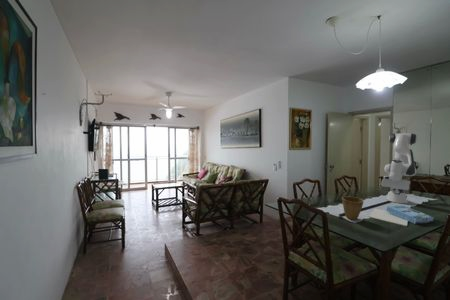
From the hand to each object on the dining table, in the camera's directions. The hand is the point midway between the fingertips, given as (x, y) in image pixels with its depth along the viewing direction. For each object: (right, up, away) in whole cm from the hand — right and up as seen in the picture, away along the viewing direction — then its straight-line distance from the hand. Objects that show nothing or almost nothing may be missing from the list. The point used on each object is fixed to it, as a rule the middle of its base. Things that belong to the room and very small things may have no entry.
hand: (394, 192), depth 194 cm
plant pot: (-52, -17, -21) cm, 59 cm away
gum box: (-4, -13, -6) cm, 14 cm away
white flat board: (-17, -17, -15) cm, 28 cm away
